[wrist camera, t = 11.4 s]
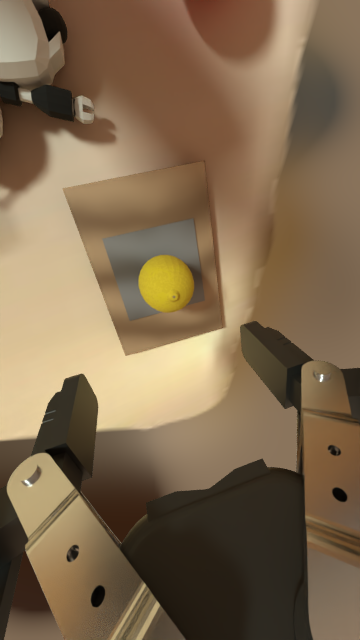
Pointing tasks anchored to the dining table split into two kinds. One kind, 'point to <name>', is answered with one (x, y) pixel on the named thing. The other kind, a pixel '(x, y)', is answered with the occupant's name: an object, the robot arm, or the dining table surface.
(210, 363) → the dining table surface
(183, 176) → the serving board
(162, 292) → the lemon
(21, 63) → the robot toy
